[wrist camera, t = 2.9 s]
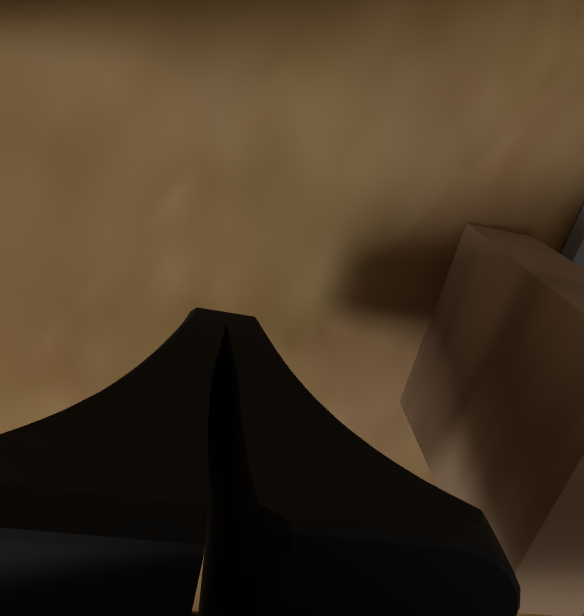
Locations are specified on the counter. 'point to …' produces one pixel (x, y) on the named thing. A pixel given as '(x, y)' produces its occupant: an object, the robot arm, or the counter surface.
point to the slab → (510, 405)
